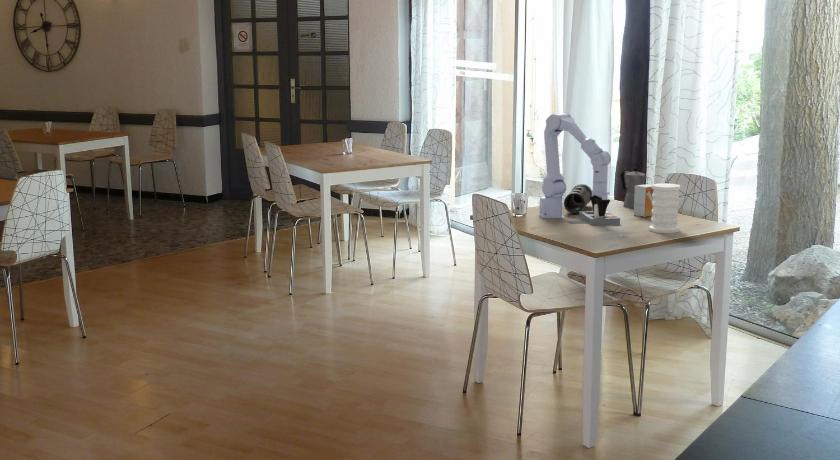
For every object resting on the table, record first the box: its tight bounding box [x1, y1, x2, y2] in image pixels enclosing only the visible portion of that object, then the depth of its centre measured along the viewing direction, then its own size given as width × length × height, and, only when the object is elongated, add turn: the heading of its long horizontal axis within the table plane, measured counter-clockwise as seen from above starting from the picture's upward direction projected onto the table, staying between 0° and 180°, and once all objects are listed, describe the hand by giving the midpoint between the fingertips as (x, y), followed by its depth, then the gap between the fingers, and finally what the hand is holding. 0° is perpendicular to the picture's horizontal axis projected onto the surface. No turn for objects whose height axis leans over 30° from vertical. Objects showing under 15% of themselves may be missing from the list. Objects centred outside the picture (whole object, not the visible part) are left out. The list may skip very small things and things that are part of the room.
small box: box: [633, 183, 654, 218], centre depth 401 cm, size 8×6×13 cm
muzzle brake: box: [563, 183, 593, 215], centre depth 414 cm, size 10×28×10 cm, turn 163°
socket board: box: [578, 210, 621, 226], centre depth 388 cm, size 12×18×3 cm, turn 6°
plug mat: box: [566, 219, 588, 225], centre depth 385 cm, size 7×7×1 cm
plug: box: [594, 204, 604, 218], centre depth 383 cm, size 4×4×8 cm
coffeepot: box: [619, 166, 648, 209], centre depth 423 cm, size 15×9×18 cm, turn 33°
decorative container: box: [648, 182, 681, 234], centre depth 368 cm, size 12×12×18 cm
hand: (599, 214), depth 383 cm, fingers open, 7 cm apart
